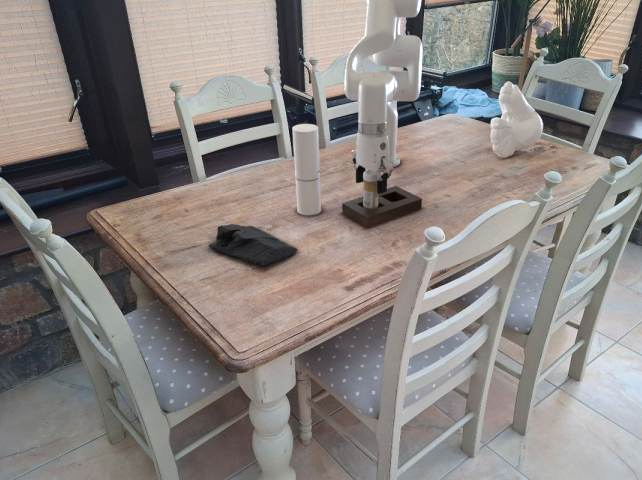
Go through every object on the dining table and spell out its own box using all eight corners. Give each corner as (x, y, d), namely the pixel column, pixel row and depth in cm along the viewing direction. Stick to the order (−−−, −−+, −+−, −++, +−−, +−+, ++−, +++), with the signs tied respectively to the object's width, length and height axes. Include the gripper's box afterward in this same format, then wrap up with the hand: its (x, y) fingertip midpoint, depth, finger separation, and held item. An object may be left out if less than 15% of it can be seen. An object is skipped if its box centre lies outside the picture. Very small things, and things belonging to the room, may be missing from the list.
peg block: (342, 213, 161) (342, 203, 159) (395, 196, 171) (395, 185, 169) (367, 228, 153) (367, 217, 151) (421, 209, 163) (422, 198, 161)
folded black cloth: (259, 275, 132) (257, 259, 129) (204, 247, 144) (201, 231, 141) (303, 252, 142) (302, 236, 139) (248, 226, 154) (246, 211, 151)
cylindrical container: (324, 207, 164) (322, 125, 150) (315, 216, 159) (312, 133, 145) (303, 203, 166) (298, 122, 152) (293, 213, 161) (288, 130, 147)
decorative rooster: (521, 121, 214) (495, 73, 198) (555, 123, 201) (530, 73, 186) (486, 170, 211) (457, 125, 196) (518, 175, 199) (489, 128, 183)
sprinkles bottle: (381, 216, 159) (382, 173, 152) (368, 220, 157) (369, 176, 149) (372, 210, 162) (373, 168, 155) (359, 214, 160) (360, 171, 153)
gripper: (404, 132, 141) (400, 193, 150) (363, 117, 153) (362, 175, 162) (382, 138, 137) (380, 200, 147) (342, 122, 149) (342, 181, 158)
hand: (370, 187), depth 154 cm, fingers open, 9 cm apart
